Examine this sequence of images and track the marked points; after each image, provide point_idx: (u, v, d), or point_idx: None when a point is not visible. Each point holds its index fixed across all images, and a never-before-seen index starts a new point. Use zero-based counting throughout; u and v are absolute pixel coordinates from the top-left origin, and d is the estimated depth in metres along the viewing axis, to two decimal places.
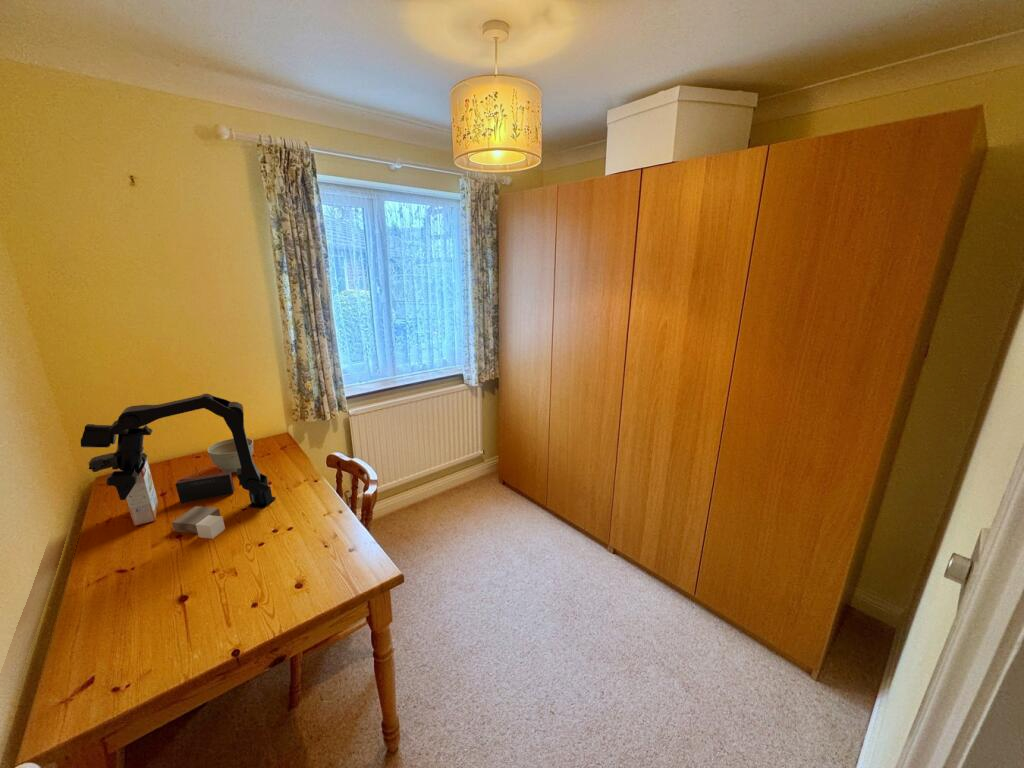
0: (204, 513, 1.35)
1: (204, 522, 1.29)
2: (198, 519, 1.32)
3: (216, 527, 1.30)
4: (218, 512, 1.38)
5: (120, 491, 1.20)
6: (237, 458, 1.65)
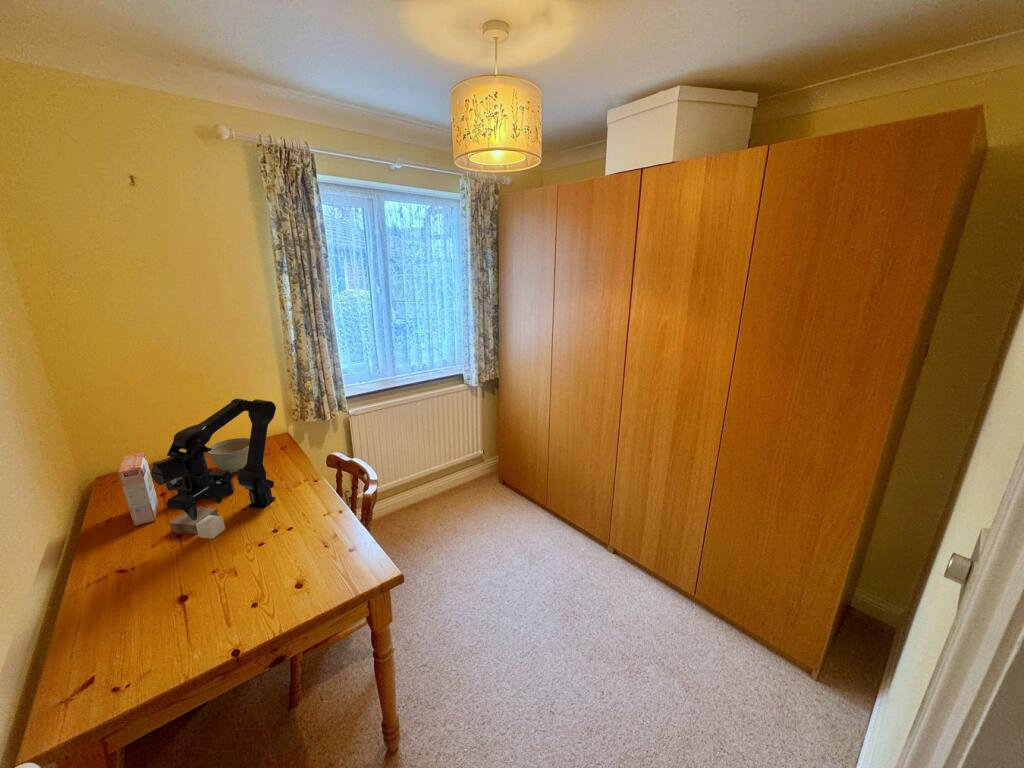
0: (202, 514, 1.35)
1: (204, 522, 1.29)
2: (196, 520, 1.32)
3: (216, 527, 1.30)
4: (216, 513, 1.38)
5: (187, 513, 1.23)
6: (237, 458, 1.65)
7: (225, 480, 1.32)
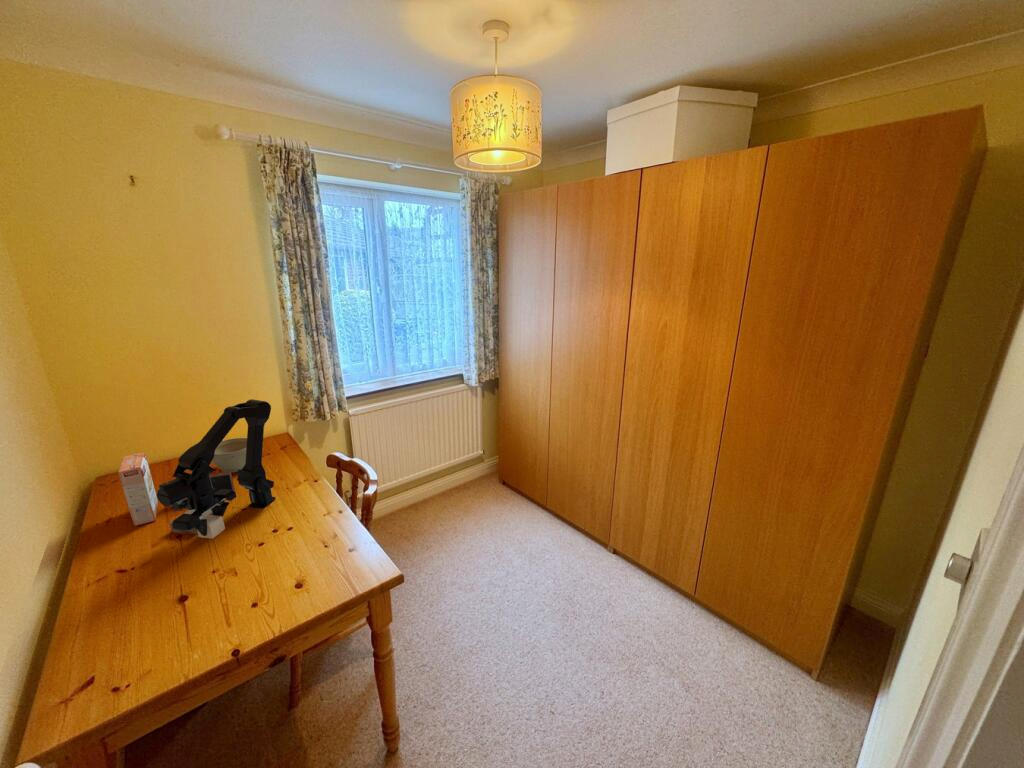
0: None
1: None
2: None
3: (216, 527, 1.30)
4: None
5: (198, 529, 1.27)
6: (237, 458, 1.65)
7: (229, 499, 1.34)
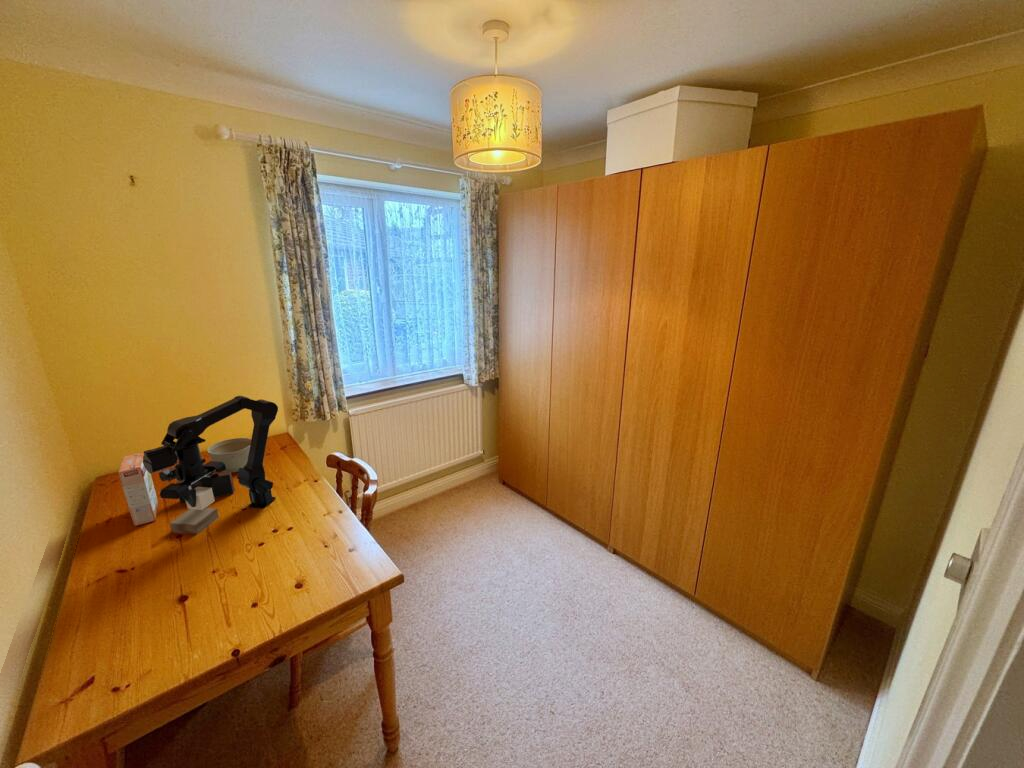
0: (202, 513, 1.35)
1: None
2: (196, 519, 1.32)
3: (205, 498, 1.28)
4: (216, 513, 1.38)
5: (187, 499, 1.25)
6: (237, 458, 1.65)
7: (218, 471, 1.32)
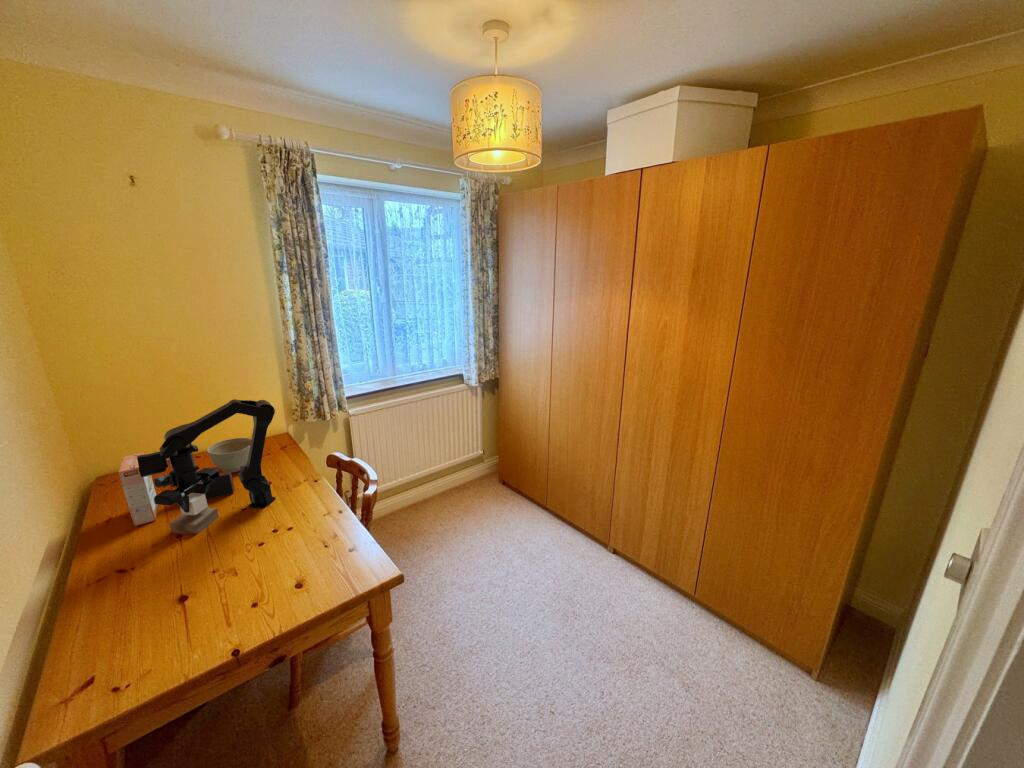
0: (202, 513, 1.35)
1: None
2: (197, 519, 1.32)
3: (198, 504, 1.33)
4: (216, 512, 1.38)
5: (180, 505, 1.29)
6: (237, 458, 1.65)
7: (212, 477, 1.37)
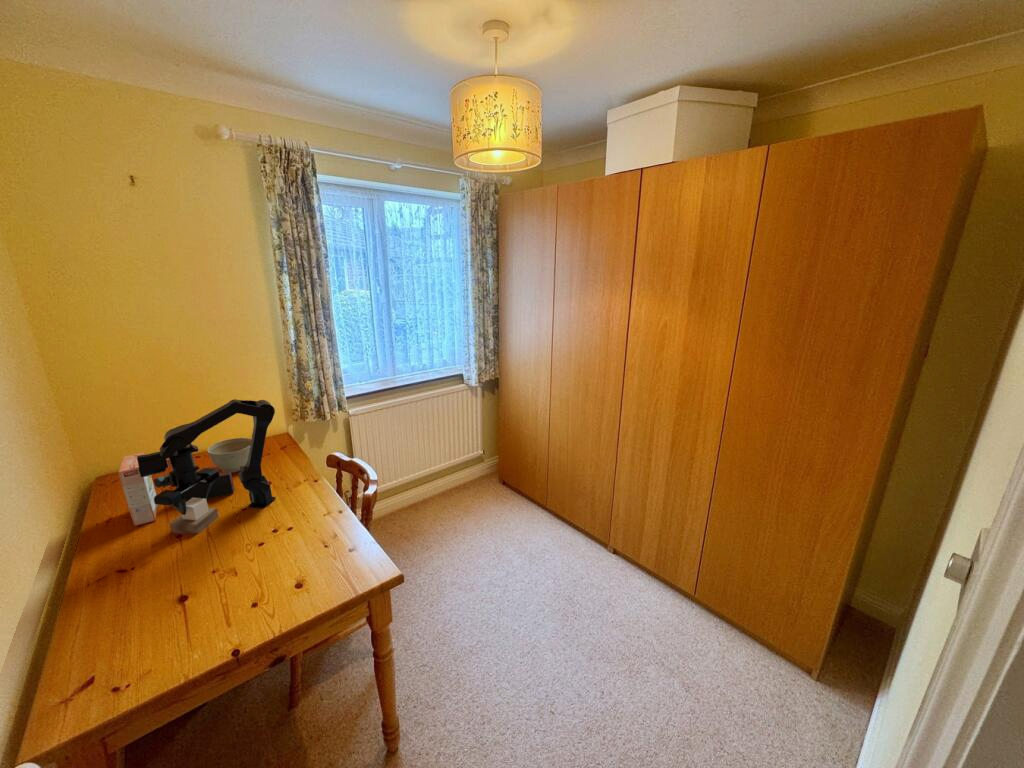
0: None
1: (188, 503, 1.32)
2: None
3: (199, 509, 1.33)
4: (216, 512, 1.38)
5: (177, 507, 1.28)
6: (237, 458, 1.65)
7: (212, 477, 1.37)
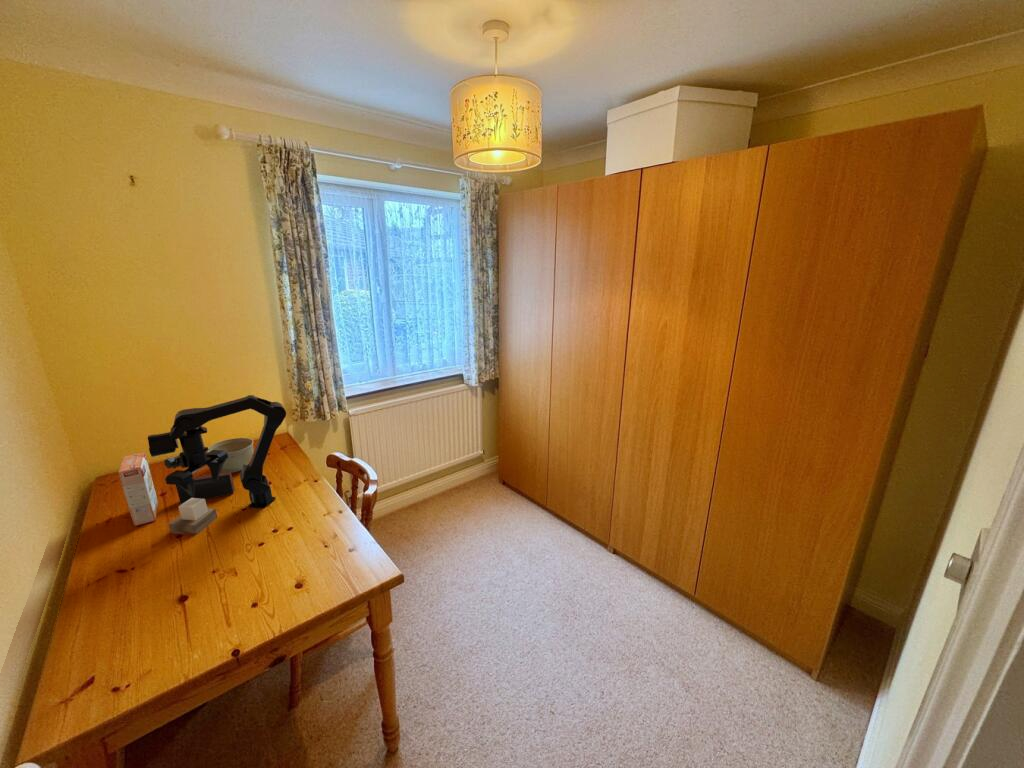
0: None
1: (187, 504, 1.32)
2: (195, 520, 1.32)
3: (198, 509, 1.33)
4: (214, 513, 1.38)
5: (186, 489, 1.29)
6: (237, 458, 1.65)
7: (221, 459, 1.39)
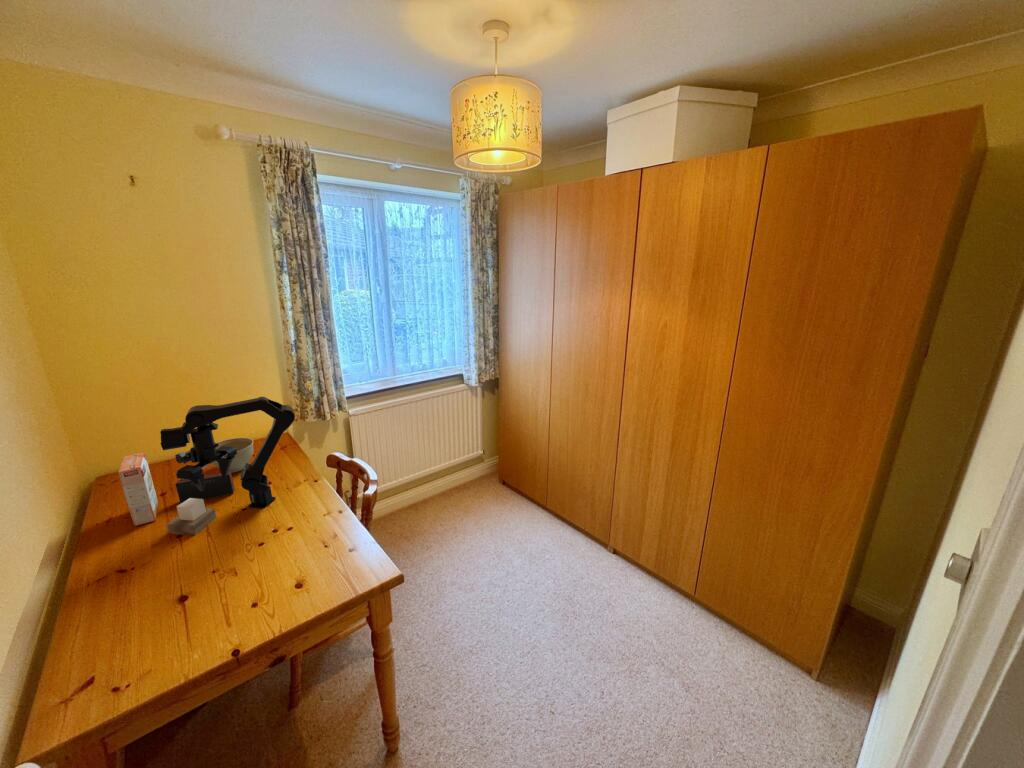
0: None
1: (185, 504, 1.32)
2: (194, 520, 1.32)
3: (196, 509, 1.33)
4: (213, 513, 1.38)
5: (195, 484, 1.32)
6: (237, 458, 1.65)
7: (230, 455, 1.41)
